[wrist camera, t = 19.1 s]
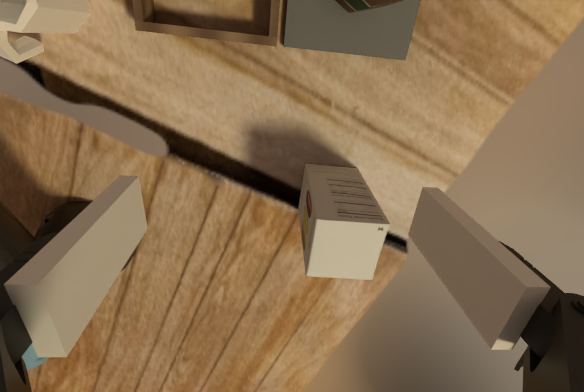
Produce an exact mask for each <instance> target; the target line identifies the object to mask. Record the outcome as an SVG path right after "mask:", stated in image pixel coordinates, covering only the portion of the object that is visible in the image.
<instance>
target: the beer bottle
mask: <svg viewBox="0 0 584 392" xmlns="http://www.w3.org/2000/svg"><path fill="white" fill-rule="evenodd" d="M336 1H337V2H338V3H339V4H340V5H341V6H342V7H343V8H344V9H345V10H346V11H347V12H349V13H352V12H358V11H364V10H370V9H375V8H379V7H383V6H387V5H390V4H394V3H398V2H401V1H403V0H336Z"/></svg>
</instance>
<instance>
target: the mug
mask: <svg viewBox="0 0 584 392" xmlns="http://www.w3.org/2000/svg"><path fill="white" fill-rule="evenodd" d="M90 15H91V10H90V6H89V2H88V0H0V56H1V57H3V58H6V59H8V60H10V61H12V62H14V63H16V64H17V63H19V62H21V61H24V60H26V59H28V58H30V57H33V56H35V55H37V54H40V53H42V52H44V48H43V44H42V43H40V42H39V41H38V40H36V39H34V38H31V37H28V36H23V37H21V38H19V39H17V40H15V41H14V42H12V43H10V44H9V43H8V41H7V31H12V32H19V33H77V32H78V31H79V29H80V28H81V27H82V25H83V24H84V23H85V21H86V20H87V19H88V17H89V16H90Z"/></svg>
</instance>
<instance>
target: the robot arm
mask: <svg viewBox="0 0 584 392" xmlns="http://www.w3.org/2000/svg"><path fill="white" fill-rule="evenodd" d="M147 229H148V228H147V223H146V217H145V211H144V205H143V199H142V193H141V187H140V181H139V176H119V177H118V178H117V179H116V180H115V181H114V182H113V183H112V184H111V185H110V186H109V187H108V188H107V189H106V190H104V191H103V192H102V193H101V194H100V195H99V196H98V197H97V198H96V199H95V200H94V201H93V202H92V203H90V202H70V203H66V204H63V205H61V206H59V207H58V208H56V209H55V210H54V211H52V212H51V213H50V214H49V215H47V216H46V217H45V219H44V220H43V221H42V223H41V225H40V227H39V229H38V231H37V233H36V235H35V237H33V236H32V235H31V233H30V232H29V231H28V230H27V229H26V228H25V227H24V226H23V225H22V224H21V223H20V221H19V220H18V219H17V218H16V217H15V216H14V215H13V214H12V213H11V212H10V210H9V209H8V208H7V207H6V206H5V205H4V204H3V203H2V202H1V201H0V392H32V391H31V386H30V382H29V377H28V373H27V371H28V370H30V369H33V368H35V367H37V366H39V365H41V364H42V363H43V362H45V361H46V360H47V359H48V358H49V357H67V356H68V354H69V353H70V351H71V350H72V348H73V346H74V345H75V343H76V342H77V340H78V338H79V337H80V335H81V334H82V332H83V330H84V329H85V327H86V326H87V324H88V323H89V321H90V319H91V318H92V316H93V315H94V313H95V311H96V310H97V308H98V307H99V305H100V303H101V302H102V300H103V299H104V297H105V296H106V294H107V292H108V291H109V289H110V288H111V286H112V284H113V283H114V281H115V280H116V278H117V277H118V275H119V273H120V272H121V271H122V270H123V269H124V268H125V267H126V266H127V265H128V264H129V262H130V261H131V259H132V258H133V256H134V254H135V251H136V246H137V245H138V243H139V242H140V240H141V238H142V237H143V235H144V234H145V232H146V230H147ZM408 235H409V236H410V238H411V239H412V240H413V242H414V243H415V245H416V246H417V247H418V249H419V250H420V251H421V253H422V254H423V256H424V257H425V258H426V260H427V261H428V262H429V264H430V265H431V267H432V268H433V269H434V271H435V272H436V274H437V275H438V276H439V278H440V279H441V281H442V282H443V284H444V285H445V286H446V288H447V289H448V290H449V292H450V293H451V295H452V296H453V297H454V299H455V300H456V302H457V303H458V304H459V306H460V307H461V309H462V310H463V311H464V313H465V314H466V315H467V317H468V318H469V320H470V321H471V322H472V324H473V325H474V326H475V328H476V329H477V331H478V332H479V334H480V335H481V336H482V338H483V339H484V340H485V342H486V343H487V345H488V346H489V347H490V349H491V350H499V349H500V350H505V349H513V348H514V346H515V344H516V343H517V341H518V340H519V338H520V336H521V337H522V339H523V340H524V341H525V342H526V343H527V344H528V347H527V349H526V351H525V352H524V353H523V355H522V357H521V358H520V360H519V361H518V363H517V364H516V366H515V370H517V371H519V369H520V367H523V392H584V296H581V295H578V294H573V293H564V292H563V291H562V290H560V289H559V288H558V287H557V286H556V285H555V284H553V283H552V282H551V281H550V280H549V279H548V278H546V277H545V276H544V275H543V274H542V273H541V272H539V271H538V270H537V269H536V268H533V266H532V265H531V264H530V263H529V262H528V261H526V260H524V258H523V257H522V256H521V255H520V254H518V253H517V252H516V251H515V250H514V249H512V248H510V247H509V246H507V245H505V244H503V243H502V242H500V241H497V240H496V239H495V238H494V237H493V236H492V235H491V234H490V233H489V232H487V231H486V230H485V229H484V228H483V227H482V226H481V225H479V224H478V223H477V222H476V221H475V220H474V219H473V218H471V217H470V216H469V215H468V214H467V213H466V212H465V211H463V210H462V209H461V208H460V207H459V206H458V205H457V204H456V203H454V202H453V201H452V200H451V199H450V198H449V197H448V196H446V195H445V194H444V193H443V192H442V191H441V190H440V189H438V188H428V187H423V188H422V191H421V195H420V198H419V201H418V204H417V208H416V211H415V214H414V218H413V221H412V224H411V228H410V231H409V234H408Z"/></svg>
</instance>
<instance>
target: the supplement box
mask: <svg viewBox="0 0 584 392" xmlns="http://www.w3.org/2000/svg"><path fill="white" fill-rule="evenodd" d="M298 211H299V219H300V228H301V237H302V245H303V254H304V263H305V272H306V276H312V277H331V278H348V279H367V280H372V279H373V275H374V272H375V268H376V265H377V261H378V258H379V255H380V252H381V248H382V245H383V243H384V240H385V237H386V234H387V231H388V229H389V226H390V223H389V221H388V220H387V218H386V216H385V215H384V213H383V211H382V209H381V208H380V206H379V204H378V202H377V201H376V199H375V197H374V196H373V194H372V192H371V190H370V189H369V187H368V185H367V184H366V182H365V180H364V178H363V177H362V175H361V173H360V172H359V170H358V168H349V167H338V166H327V165H317V164H305V169H304V175H303V181H302V187H301V194H300V201H299V208H298Z"/></svg>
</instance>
